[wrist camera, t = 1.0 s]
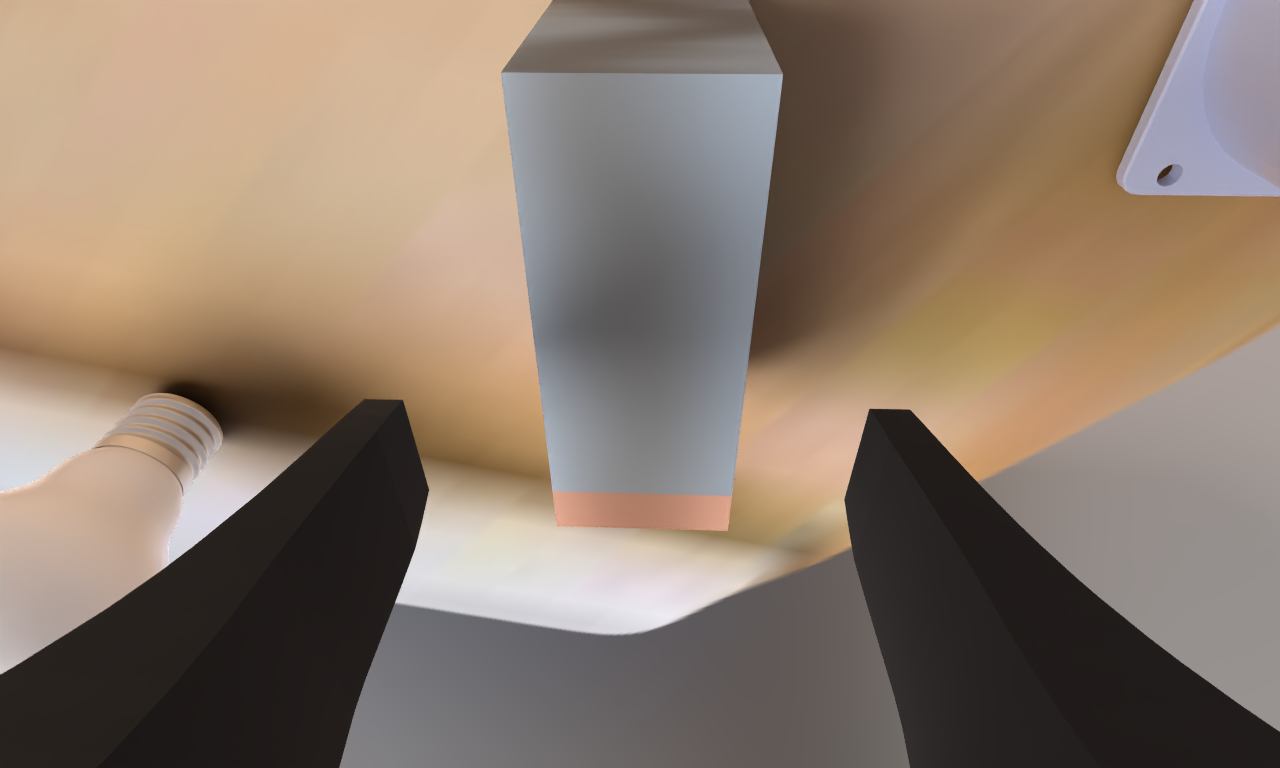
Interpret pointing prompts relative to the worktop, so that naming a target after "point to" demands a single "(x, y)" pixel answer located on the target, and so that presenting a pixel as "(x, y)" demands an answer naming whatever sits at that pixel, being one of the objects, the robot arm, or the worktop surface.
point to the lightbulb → (97, 522)
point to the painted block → (642, 246)
